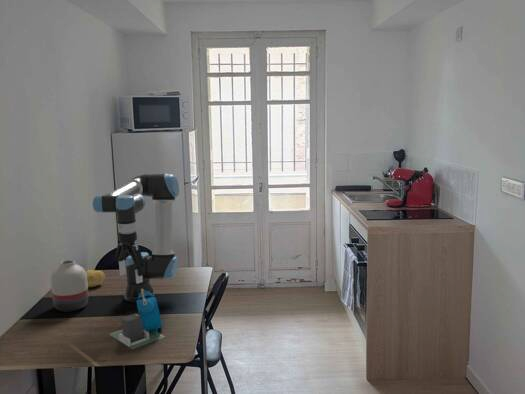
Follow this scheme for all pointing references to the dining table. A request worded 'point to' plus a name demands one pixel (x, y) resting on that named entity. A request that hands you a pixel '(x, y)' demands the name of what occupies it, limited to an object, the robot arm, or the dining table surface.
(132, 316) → the plug
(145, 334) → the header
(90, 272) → the potato
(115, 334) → the board
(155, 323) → the blue suitcase
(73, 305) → the vase
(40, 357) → the dining table surface
